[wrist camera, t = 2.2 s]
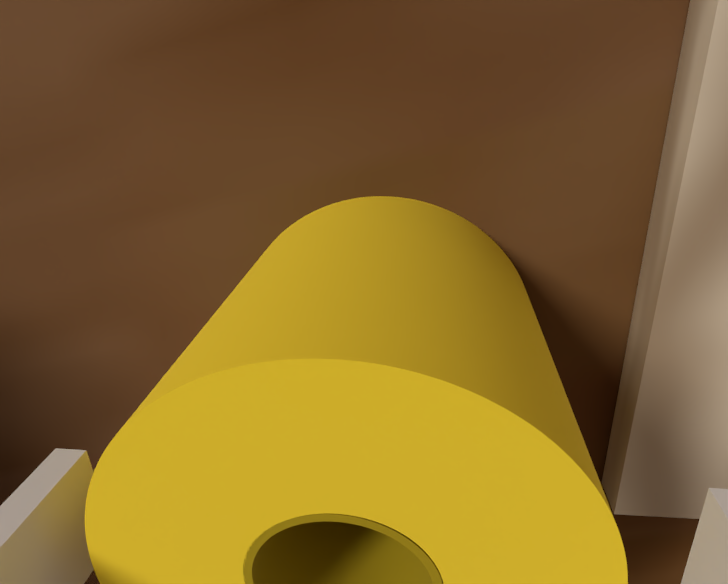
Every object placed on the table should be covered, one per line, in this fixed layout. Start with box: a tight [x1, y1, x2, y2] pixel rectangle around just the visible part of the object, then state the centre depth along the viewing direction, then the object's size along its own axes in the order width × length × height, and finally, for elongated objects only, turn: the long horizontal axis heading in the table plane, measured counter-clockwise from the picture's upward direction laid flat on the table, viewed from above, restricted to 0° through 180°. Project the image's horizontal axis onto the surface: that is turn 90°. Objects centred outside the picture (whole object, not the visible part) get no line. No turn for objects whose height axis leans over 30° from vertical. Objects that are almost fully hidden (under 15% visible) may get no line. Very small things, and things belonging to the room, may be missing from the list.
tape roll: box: [85, 196, 628, 584], centre depth 14 cm, size 10×10×9 cm
